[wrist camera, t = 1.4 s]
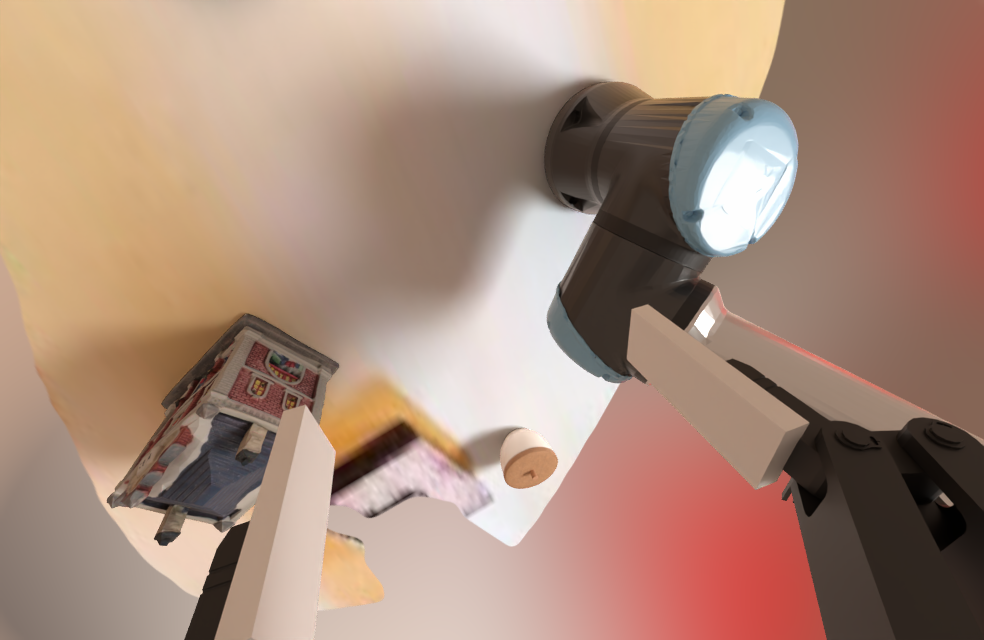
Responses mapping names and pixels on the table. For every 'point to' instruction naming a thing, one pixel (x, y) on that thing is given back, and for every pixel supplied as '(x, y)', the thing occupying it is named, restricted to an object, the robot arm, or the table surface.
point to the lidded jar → (526, 458)
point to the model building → (223, 428)
